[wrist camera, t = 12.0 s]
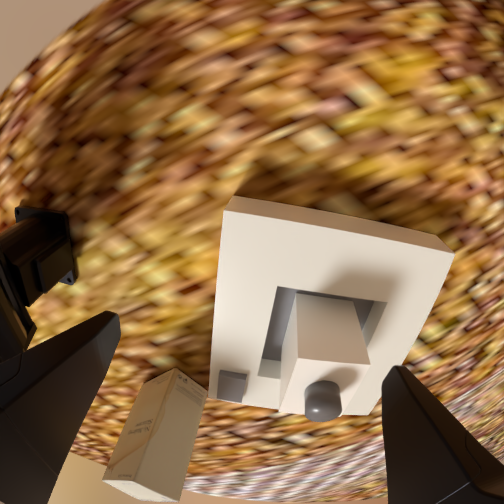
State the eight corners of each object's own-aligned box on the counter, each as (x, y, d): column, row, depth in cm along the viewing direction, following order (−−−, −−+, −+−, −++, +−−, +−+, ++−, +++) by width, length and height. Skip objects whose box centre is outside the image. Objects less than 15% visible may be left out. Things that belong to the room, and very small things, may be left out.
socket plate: (214, 372, 26) (206, 403, 22) (233, 195, 19) (221, 214, 15) (363, 390, 25) (368, 420, 22) (435, 234, 18) (459, 258, 15)
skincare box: (176, 365, 26) (132, 480, 15) (210, 391, 27) (182, 503, 16) (140, 384, 28) (98, 480, 17) (172, 407, 29) (140, 502, 18)
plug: (281, 347, 22) (277, 431, 15) (295, 293, 20) (298, 380, 13) (332, 353, 22) (342, 435, 15) (352, 301, 20) (376, 385, 13)
